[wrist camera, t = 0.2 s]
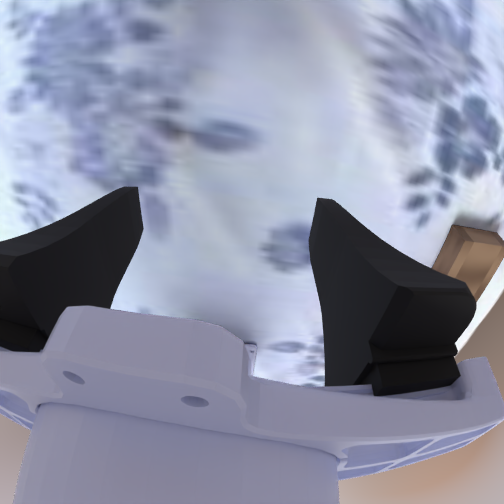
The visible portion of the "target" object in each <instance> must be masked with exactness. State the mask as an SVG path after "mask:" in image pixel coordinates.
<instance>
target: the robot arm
mask: <svg viewBox="0 0 504 504" xmlns="http://www.w3.org/2000/svg"><path fill="white" fill-rule="evenodd" d="M143 229H144V228H143V222H142V215H141V208H140V201H139V193H138V187H122V188H119V189H117V190H115V191H113V192H111V193H109V194H107V195H105V196H103V197H102V198H100V199H98V200H96V201H94V202H93V203H91V204H89V205H87V206H85V207H84V208H82V209H80V210H78V211H76V212H74V213H73V214H71V215H69V216H67V217H65V218H63V219H61V220H59V221H56V222H54V223H52V224H50V225H48V226H45V227H43V228H40V229H37V230H35V231H32V232H30V233H27V234H24V235H21V236H18V237H15V238H12V239H8V240H5V241H1V242H0V414H2V415H4V416H5V417H7V418H9V419H10V420H12V421H14V422H16V423H18V424H20V425H21V426H23V427H25V428H27V429H29V430H30V431H31V433H30V436H29V439H28V443H27V446H26V449H25V453H24V457H23V460H22V464H21V468H20V473H19V476H18V481H17V485H16V490H15V495H14V500H13V504H339V488H338V480H344V479H350V478H356V477H361V476H366V475H370V474H375V473H379V472H383V471H387V470H391V469H395V468H399V467H403V466H406V465H409V464H413V463H416V462H419V461H423V460H426V459H429V458H432V457H435V456H438V455H441V454H444V453H447V452H450V451H453V450H456V449H459V448H461V447H464V446H466V445H467V444H469V443H470V442H472V441H474V440H475V439H477V438H478V437H480V436H482V435H483V434H484V433H486V432H487V431H489V430H490V429H492V428H493V427H495V426H496V425H498V424H499V423H500V422H502V421H503V420H504V402H503V399H502V396H501V394H500V391H499V388H498V385H497V382H496V380H495V377H494V375H493V372H492V370H491V367H490V365H489V362H488V360H487V358H486V357H478V358H473V359H467V360H464V361H461V362H460V363H458V364H456V361H455V359H454V356H456V354H457V352H458V350H457V348H456V345H455V342H456V341H457V340H458V338H459V337H460V336H461V335H462V333H463V332H464V331H465V329H466V328H467V327H468V325H469V324H470V322H471V321H472V319H473V317H474V314H475V311H476V300H475V298H474V296H473V294H472V293H471V291H470V289H469V287H468V286H467V284H466V283H465V282H463V281H461V280H458V279H456V278H453V277H450V276H448V275H445V274H442V273H440V272H438V271H436V270H434V269H431V268H429V267H427V266H425V265H423V264H421V263H419V262H417V261H415V260H414V259H412V258H410V257H408V256H407V255H405V254H403V253H401V252H400V251H398V250H397V249H395V248H394V247H392V246H391V245H389V244H388V243H386V242H385V241H383V240H382V239H380V238H379V237H378V236H376V235H375V234H374V233H373V232H371V231H370V230H369V229H367V228H366V227H365V226H364V225H363V224H361V223H360V222H359V221H358V220H357V219H356V218H354V217H353V216H352V215H351V214H350V213H349V212H348V211H346V210H345V209H344V208H343V207H342V206H341V205H339V204H338V203H337V202H336V201H334V200H332V199H325V198H317V202H316V207H315V212H314V217H313V222H312V227H311V231H310V236H309V251H310V261H311V265H312V270H313V274H314V279H315V283H316V287H317V292H318V296H319V301H320V306H321V312H322V322H323V334H324V353H325V387H305V386H299V385H293V384H288V383H283V382H278V381H273V380H268V379H264V378H259V377H255V376H253V371H254V365H255V358H256V352H257V346H256V345H253V344H244V342H243V340H241V339H240V338H238V337H237V336H235V335H234V334H232V333H231V332H229V331H228V330H226V329H225V328H223V327H222V326H219V325H215V324H211V323H207V322H204V321H200V320H196V319H186V318H176V317H167V316H159V315H151V314H143V313H135V312H128V311H121V310H114V309H110V308H111V305H112V301H113V298H114V295H115V293H116V291H117V288H118V286H119V284H120V282H121V280H122V278H123V276H124V274H125V272H126V269H127V267H128V265H129V263H130V261H131V259H132V257H133V255H134V253H135V251H136V249H137V247H138V244H139V241H140V238H141V235H142V232H143Z"/></svg>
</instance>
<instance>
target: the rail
mask: <svg viewBox="0 0 504 504" xmlns="http://www.w3.org/2000/svg"><path fill="white" fill-rule="evenodd" d="M503 258H504V241H503V239H502V238H501V237H500V236H499V235H498V233H495V232H490V231H485V230H479V229H474V228H468V227H463V226H457V225H452V227H451V229H450V232H449V234H448V236H447V238H446V240H445V243H444V245H443V247H442V249H441V251H440V253H439V255H438V257H437V259H436V261H435V263H434V265H433V267H432V269H434V270H436V271H438V272H440V273H442V274H445V275H448V276H450V277H453V278H456V279H458V280H461V281H463V282H465V283H466V284H467V286H468V287H469V289H470V291H471V293H472V294H473V296H474V298H475V300H476V302H477V301H478V299H479V298H480V296H481V294H482V293H483V291H484V290H485V288H486V287H487V285H488V283H489V282H490V280H491V279H492V277H493V275H494V274H495V272H496V270H497V268H498V267H499V265H500V263H501V261H502V260H503Z"/></svg>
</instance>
